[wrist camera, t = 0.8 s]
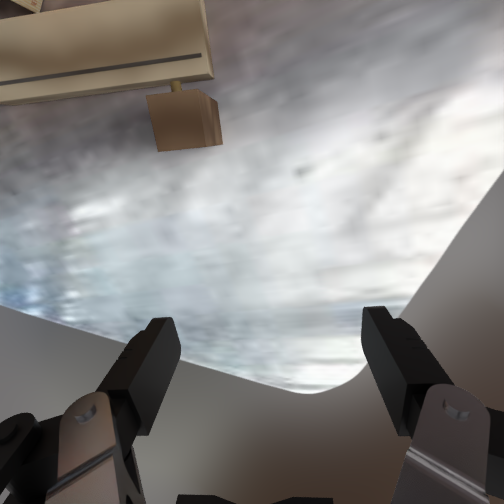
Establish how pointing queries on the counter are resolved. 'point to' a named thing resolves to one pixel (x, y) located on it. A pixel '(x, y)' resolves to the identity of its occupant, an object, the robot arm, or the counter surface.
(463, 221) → the counter surface
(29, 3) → the coffeecake box
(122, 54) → the board
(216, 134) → the brown block with peg
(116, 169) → the counter surface
